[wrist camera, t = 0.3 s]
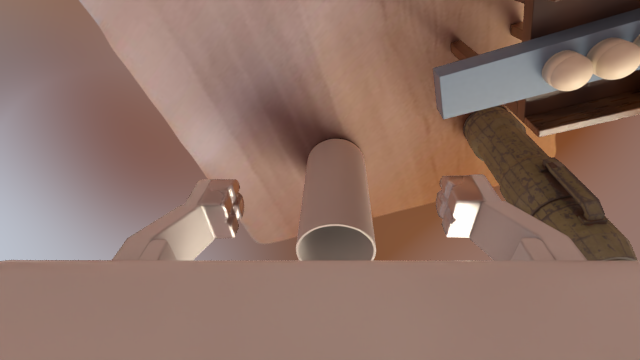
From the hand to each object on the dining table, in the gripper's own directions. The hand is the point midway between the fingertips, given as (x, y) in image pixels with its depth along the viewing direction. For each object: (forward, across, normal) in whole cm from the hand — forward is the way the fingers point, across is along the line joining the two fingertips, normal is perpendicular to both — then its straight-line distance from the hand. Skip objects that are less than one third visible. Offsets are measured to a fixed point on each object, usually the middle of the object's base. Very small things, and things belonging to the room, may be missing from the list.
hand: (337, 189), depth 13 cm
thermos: (+47, -29, +22) cm, 60 cm away
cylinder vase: (+47, +1, +30) cm, 56 cm away
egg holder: (+21, -18, +2) cm, 28 cm away
